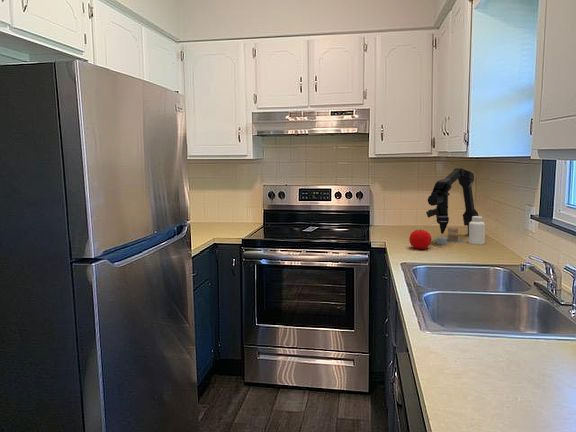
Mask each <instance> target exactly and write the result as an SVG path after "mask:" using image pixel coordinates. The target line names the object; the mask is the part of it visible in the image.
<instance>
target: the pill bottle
mask: <svg viewBox="0 0 576 432" xmlns="http://www.w3.org/2000/svg"><path fill="white" fill-rule="evenodd" d="M485 229H486V224H485V221H483V216H480V215H478V216H472V221H471V222H470V223H469V236H468V243H469V244H471V245H484V244H485V243H486V242H485V239H486V238H485V234H486V231H485Z"/></svg>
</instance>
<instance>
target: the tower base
mask: <svg viewBox="0 0 576 432" xmlns="http://www.w3.org/2000/svg"><path fill="white" fill-rule="evenodd" d="M458 236H459V234H458V235H448V234H447V239H448V241H458V239H459V237H458Z"/></svg>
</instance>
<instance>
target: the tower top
mask: <svg viewBox="0 0 576 432" xmlns="http://www.w3.org/2000/svg"><path fill="white" fill-rule="evenodd" d="M448 235H458V236H459V228H458V227H450V226H449V227H447V236H448Z"/></svg>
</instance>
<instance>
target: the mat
mask: <svg viewBox="0 0 576 432" xmlns="http://www.w3.org/2000/svg"><path fill="white" fill-rule="evenodd" d="M447 243H464V240H463V238H458V241H448V238H447Z"/></svg>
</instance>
